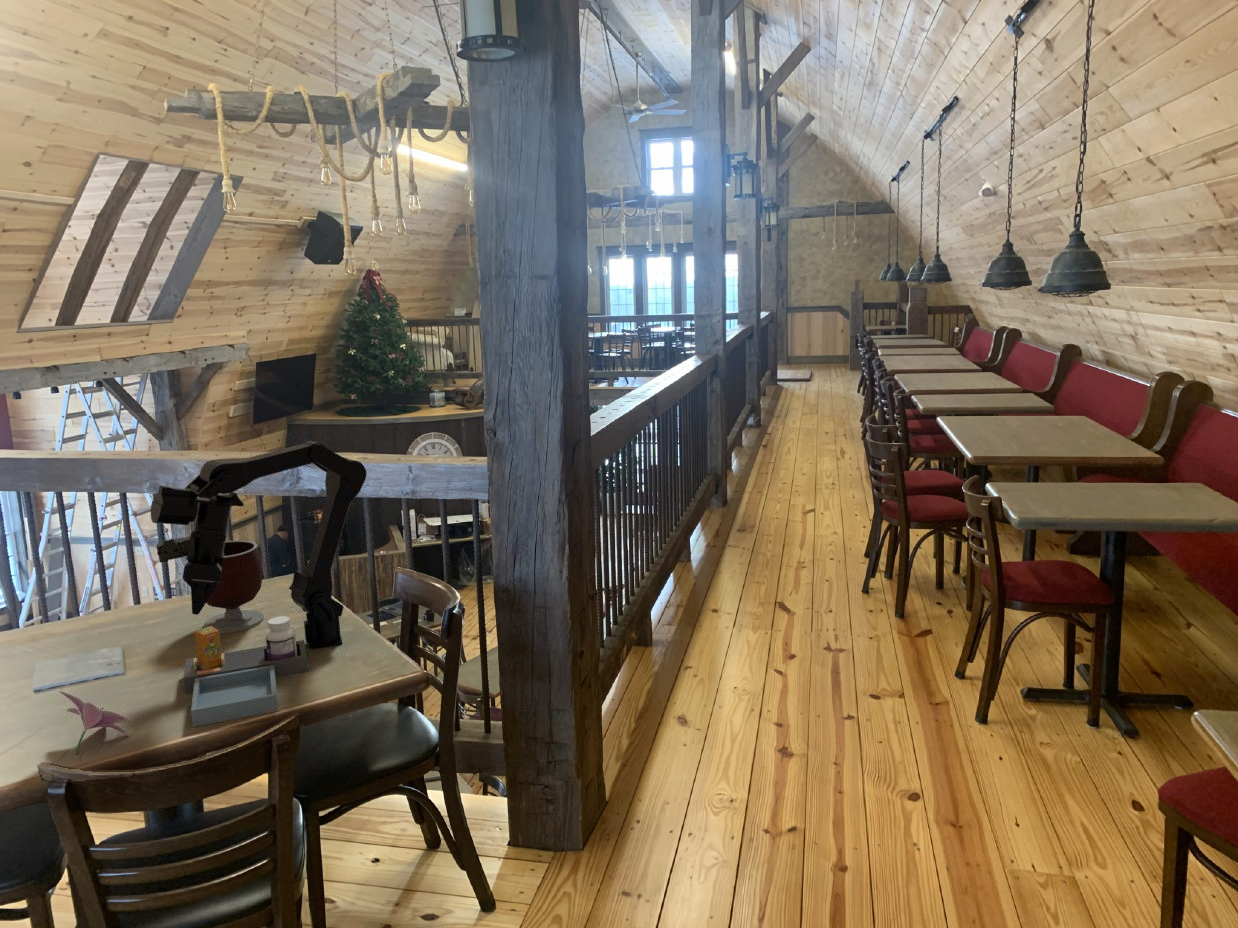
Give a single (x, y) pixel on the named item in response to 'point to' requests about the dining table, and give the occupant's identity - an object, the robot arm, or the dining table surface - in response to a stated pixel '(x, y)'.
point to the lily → (94, 716)
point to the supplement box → (208, 648)
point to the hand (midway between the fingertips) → (196, 608)
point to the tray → (234, 695)
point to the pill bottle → (280, 639)
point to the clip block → (247, 664)
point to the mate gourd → (237, 588)
